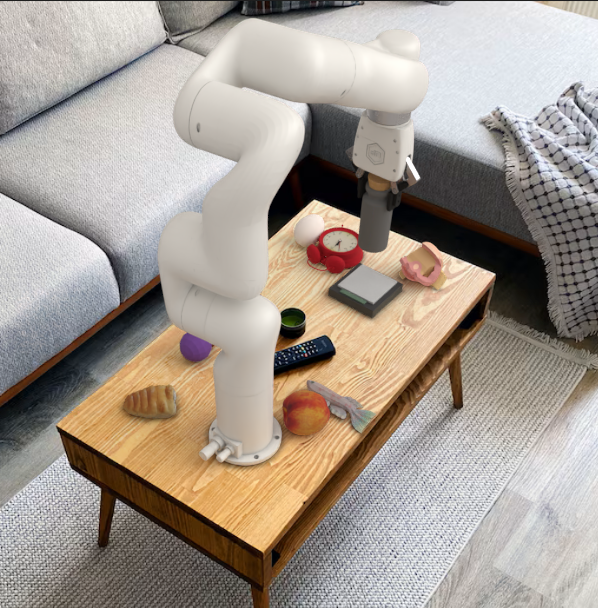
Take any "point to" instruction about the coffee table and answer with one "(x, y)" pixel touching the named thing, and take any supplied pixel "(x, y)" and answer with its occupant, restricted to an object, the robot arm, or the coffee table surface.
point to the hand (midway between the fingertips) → (377, 200)
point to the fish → (342, 405)
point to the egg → (309, 230)
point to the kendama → (194, 348)
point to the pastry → (152, 402)
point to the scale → (365, 290)
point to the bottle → (375, 215)
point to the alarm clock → (336, 250)
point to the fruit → (305, 412)
